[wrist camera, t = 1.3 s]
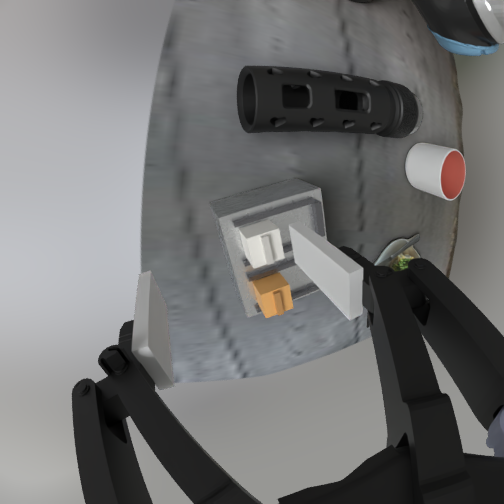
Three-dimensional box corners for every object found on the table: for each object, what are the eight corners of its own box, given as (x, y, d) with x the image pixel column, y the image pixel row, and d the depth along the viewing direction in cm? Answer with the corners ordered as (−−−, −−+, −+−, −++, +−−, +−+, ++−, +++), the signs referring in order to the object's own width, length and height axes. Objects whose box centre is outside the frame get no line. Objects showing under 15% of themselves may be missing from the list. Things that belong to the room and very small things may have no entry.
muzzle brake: (233, 73, 34) (254, 55, 25) (383, 87, 41) (425, 85, 31) (237, 135, 38) (259, 135, 29) (385, 136, 45) (426, 142, 36)
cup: (397, 182, 49) (434, 195, 41) (407, 135, 46) (445, 141, 37) (425, 191, 53) (459, 204, 44) (434, 149, 49) (469, 158, 40)
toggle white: (268, 219, 35) (280, 229, 32) (274, 246, 37) (286, 260, 34) (238, 228, 35) (247, 240, 31) (245, 256, 37) (255, 271, 33)
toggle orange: (279, 272, 39) (291, 286, 35) (283, 294, 41) (295, 310, 37) (252, 281, 38) (261, 297, 35) (258, 304, 40) (267, 320, 37)
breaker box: (295, 177, 43) (324, 189, 35) (308, 264, 50) (333, 288, 43) (209, 202, 41) (220, 220, 33) (235, 290, 48) (249, 321, 40)
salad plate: (399, 212, 53) (414, 219, 49) (427, 251, 61) (440, 259, 57) (346, 286, 56) (358, 298, 52) (383, 313, 64) (394, 323, 60)
